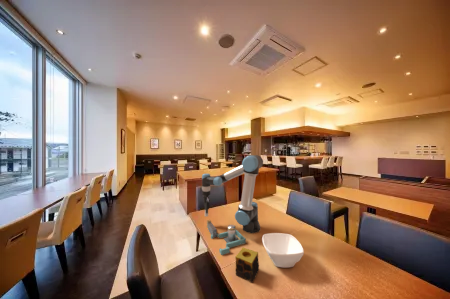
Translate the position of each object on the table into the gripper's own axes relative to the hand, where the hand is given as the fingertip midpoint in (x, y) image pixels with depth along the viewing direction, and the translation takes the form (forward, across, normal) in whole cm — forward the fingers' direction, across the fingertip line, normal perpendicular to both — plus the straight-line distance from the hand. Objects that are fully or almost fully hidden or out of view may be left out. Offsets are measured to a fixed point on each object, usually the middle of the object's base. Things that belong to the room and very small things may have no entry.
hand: (206, 216), depth 142 cm
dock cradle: (+8, +32, +8) cm, 34 cm away
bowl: (+8, +65, +29) cm, 71 cm away
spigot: (+8, +31, +11) cm, 34 cm away
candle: (+8, +63, +5) cm, 64 cm away
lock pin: (+8, +14, 0) cm, 16 cm away
